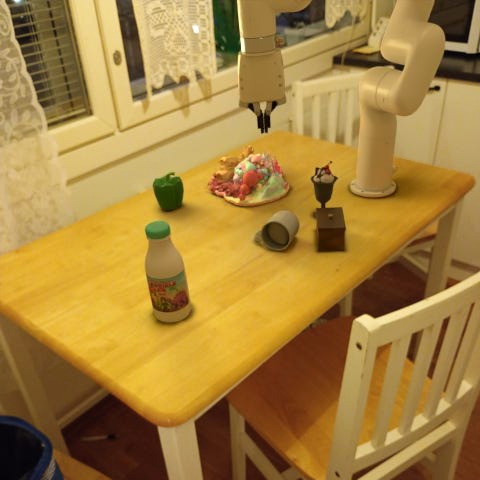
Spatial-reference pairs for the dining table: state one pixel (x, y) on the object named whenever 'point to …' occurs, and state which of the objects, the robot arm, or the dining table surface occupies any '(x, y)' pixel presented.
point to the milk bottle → (166, 275)
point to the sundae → (323, 184)
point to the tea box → (330, 229)
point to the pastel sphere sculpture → (249, 179)
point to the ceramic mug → (279, 230)
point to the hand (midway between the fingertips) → (264, 131)
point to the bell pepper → (168, 191)
